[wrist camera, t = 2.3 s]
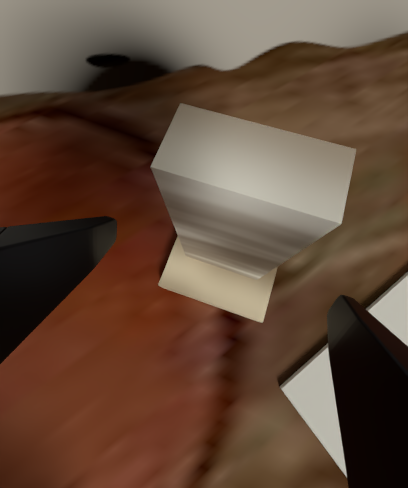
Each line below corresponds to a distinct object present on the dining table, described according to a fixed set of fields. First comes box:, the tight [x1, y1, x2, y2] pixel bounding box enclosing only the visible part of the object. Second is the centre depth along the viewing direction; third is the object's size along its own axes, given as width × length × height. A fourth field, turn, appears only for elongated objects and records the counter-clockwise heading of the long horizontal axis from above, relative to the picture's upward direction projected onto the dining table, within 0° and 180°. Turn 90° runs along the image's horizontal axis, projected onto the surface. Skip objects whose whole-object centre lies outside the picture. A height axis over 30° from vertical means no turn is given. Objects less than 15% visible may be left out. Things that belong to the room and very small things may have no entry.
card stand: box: [151, 103, 356, 323], centre depth 13 cm, size 8×8×13 cm
